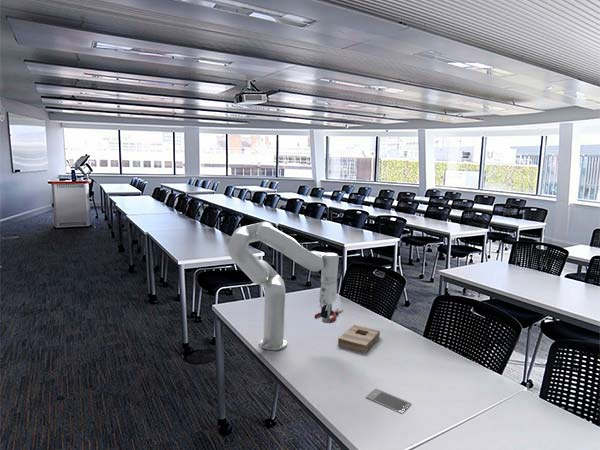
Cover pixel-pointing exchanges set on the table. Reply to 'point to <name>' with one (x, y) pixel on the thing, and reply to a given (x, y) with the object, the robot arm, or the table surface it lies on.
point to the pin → (326, 320)
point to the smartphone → (388, 400)
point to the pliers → (331, 314)
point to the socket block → (359, 338)
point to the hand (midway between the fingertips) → (326, 315)
